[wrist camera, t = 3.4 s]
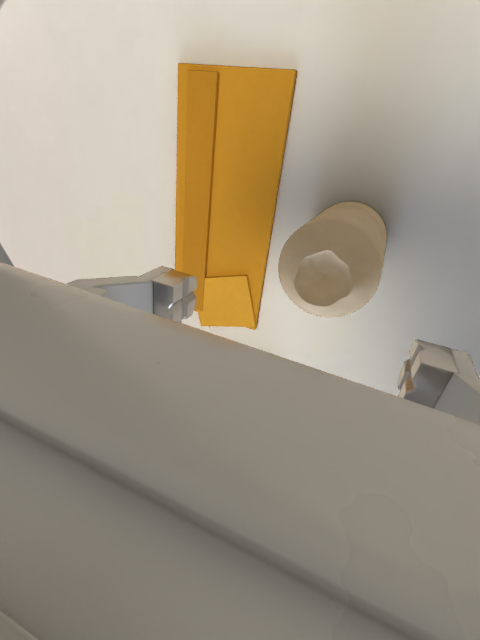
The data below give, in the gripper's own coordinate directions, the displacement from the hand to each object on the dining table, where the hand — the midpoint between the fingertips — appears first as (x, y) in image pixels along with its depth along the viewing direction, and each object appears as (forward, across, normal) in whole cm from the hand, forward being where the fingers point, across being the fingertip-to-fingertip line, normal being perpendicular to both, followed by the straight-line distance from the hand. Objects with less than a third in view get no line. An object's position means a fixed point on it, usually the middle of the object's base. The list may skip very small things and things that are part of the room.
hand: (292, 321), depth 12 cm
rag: (+16, +10, 0) cm, 19 cm away
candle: (+16, 0, 0) cm, 16 cm away
